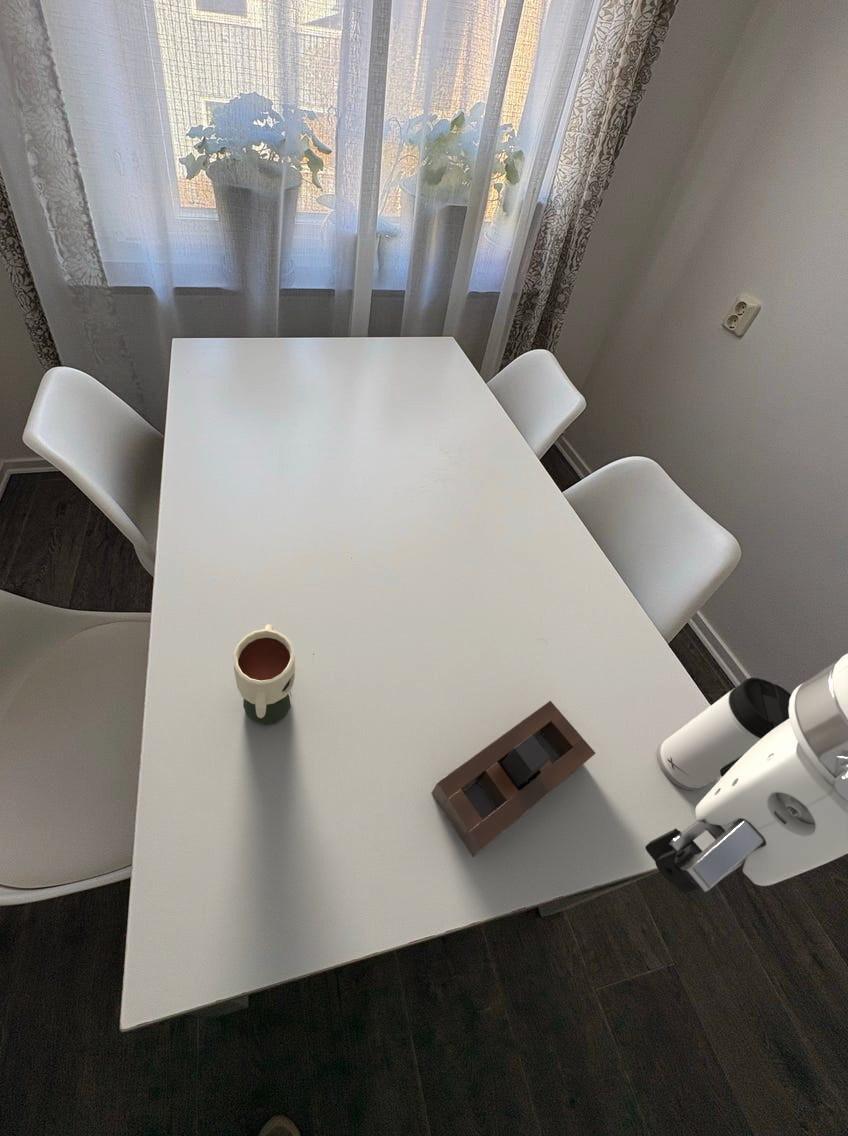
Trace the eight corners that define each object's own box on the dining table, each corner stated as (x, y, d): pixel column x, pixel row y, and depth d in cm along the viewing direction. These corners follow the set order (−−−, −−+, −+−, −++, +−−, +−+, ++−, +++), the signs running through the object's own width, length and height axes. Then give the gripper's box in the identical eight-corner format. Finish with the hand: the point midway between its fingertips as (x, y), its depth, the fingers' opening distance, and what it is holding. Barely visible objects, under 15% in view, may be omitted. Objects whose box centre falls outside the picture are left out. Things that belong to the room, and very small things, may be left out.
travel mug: (657, 782, 68) (752, 720, 54) (654, 733, 73) (741, 664, 59) (708, 801, 67) (818, 743, 53) (702, 750, 72) (802, 684, 58)
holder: (583, 764, 69) (596, 753, 66) (472, 857, 60) (481, 849, 58) (540, 712, 73) (550, 700, 71) (431, 792, 65) (437, 782, 62)
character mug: (291, 745, 67) (291, 701, 58) (234, 745, 66) (225, 700, 57) (297, 665, 75) (298, 615, 66) (246, 664, 74) (239, 613, 65)
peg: (526, 782, 67) (550, 757, 60) (509, 796, 65) (532, 772, 59) (510, 761, 68) (532, 734, 62) (493, 774, 67) (513, 747, 61)
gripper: (902, 934, 21) (680, 967, 33) (1025, 714, 29) (808, 806, 41) (729, 762, 25) (588, 847, 37) (877, 610, 33) (720, 721, 45)
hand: (703, 825), depth 39 cm, fingers open, 9 cm apart
